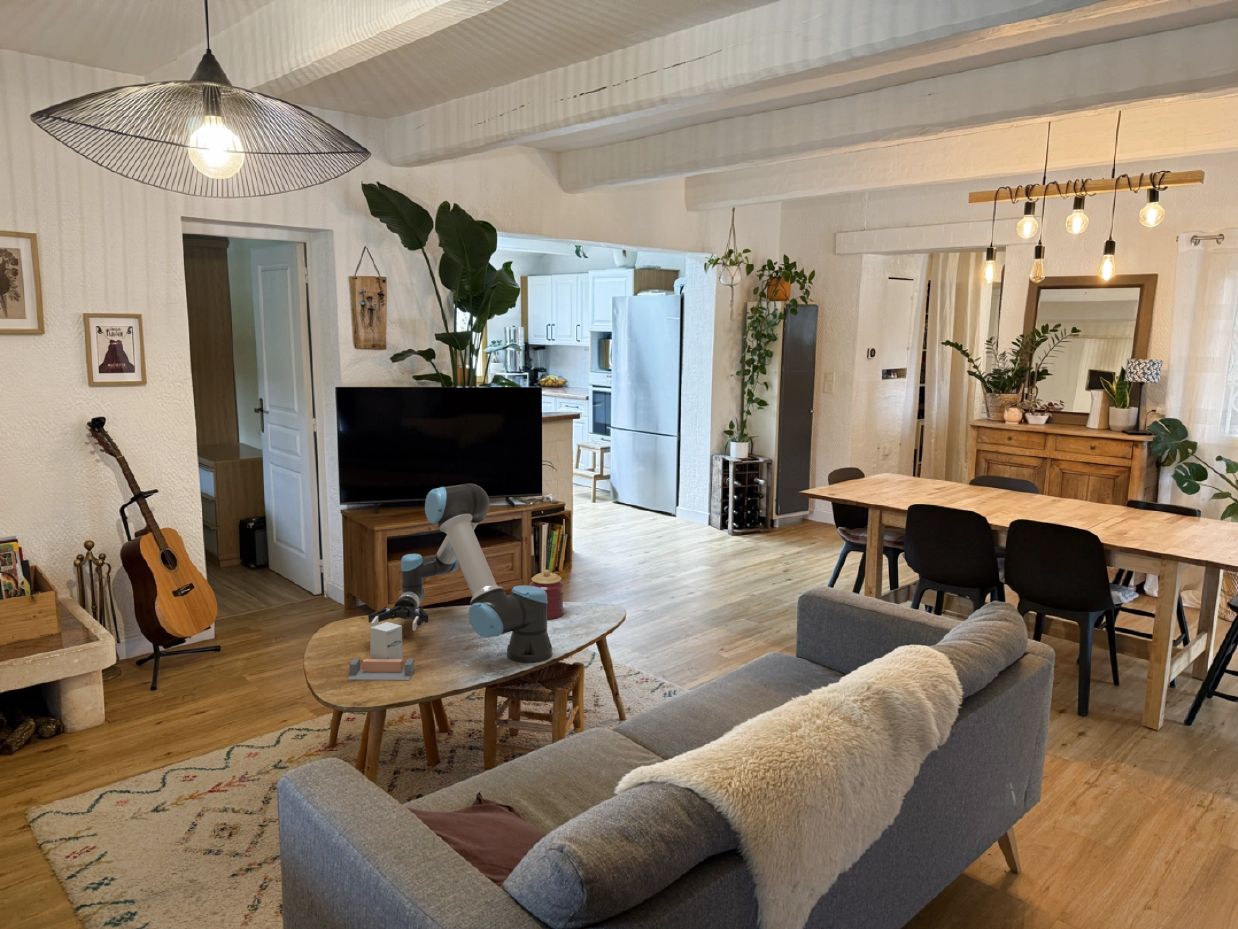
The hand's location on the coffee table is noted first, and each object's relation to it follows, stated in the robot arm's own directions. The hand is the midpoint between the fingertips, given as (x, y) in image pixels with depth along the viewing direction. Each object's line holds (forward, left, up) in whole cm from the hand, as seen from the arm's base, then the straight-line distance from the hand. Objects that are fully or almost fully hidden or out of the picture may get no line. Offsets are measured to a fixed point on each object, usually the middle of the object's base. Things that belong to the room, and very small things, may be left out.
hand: (393, 626), depth 279 cm
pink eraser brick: (-10, +10, -9) cm, 17 cm away
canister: (-6, -63, -10) cm, 64 cm away
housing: (-12, +12, -10) cm, 19 cm away
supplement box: (-6, +6, -10) cm, 13 cm away
